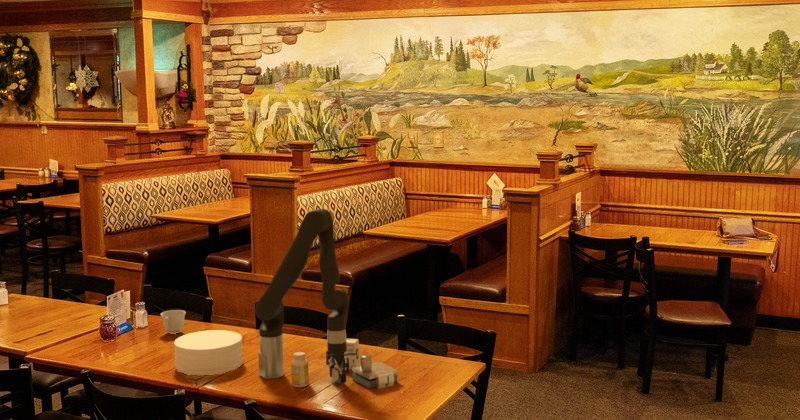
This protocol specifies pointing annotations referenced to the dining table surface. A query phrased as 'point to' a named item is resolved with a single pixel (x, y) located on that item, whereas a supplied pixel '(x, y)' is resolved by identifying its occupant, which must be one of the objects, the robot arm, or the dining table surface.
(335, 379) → the cylinder
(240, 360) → the plate stack
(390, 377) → the scale base
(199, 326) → the dining table surface
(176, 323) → the teacup
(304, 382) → the supplement bottle
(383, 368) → the pan
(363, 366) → the cylinder
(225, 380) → the dining table surface
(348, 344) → the ink box
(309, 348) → the dining table surface
